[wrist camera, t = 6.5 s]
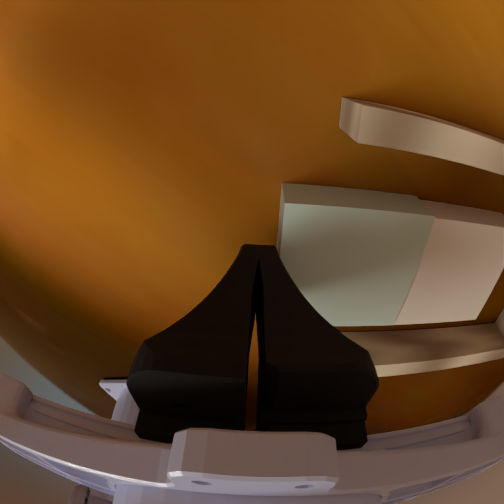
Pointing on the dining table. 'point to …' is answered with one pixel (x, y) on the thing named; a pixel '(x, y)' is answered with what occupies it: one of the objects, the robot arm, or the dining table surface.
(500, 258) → the cream tile
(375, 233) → the celadon tile
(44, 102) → the dining table surface
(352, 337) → the box
